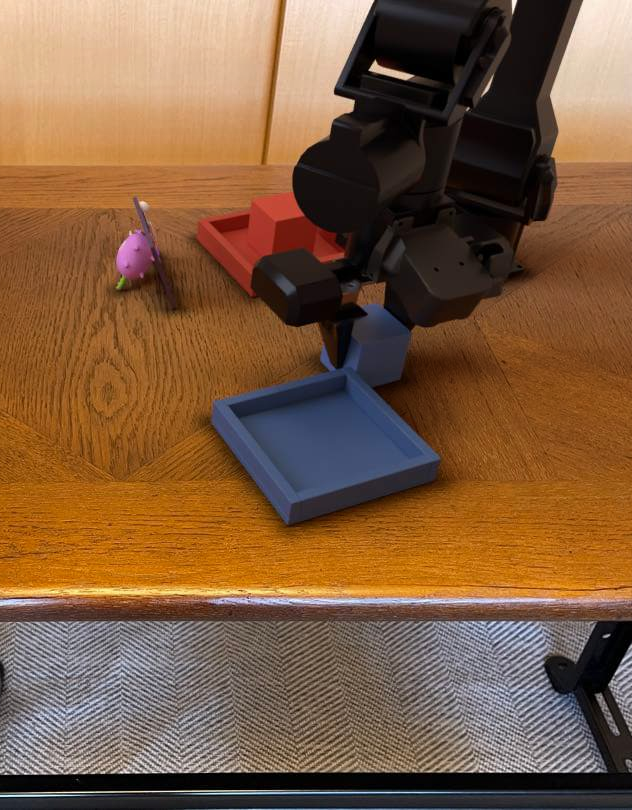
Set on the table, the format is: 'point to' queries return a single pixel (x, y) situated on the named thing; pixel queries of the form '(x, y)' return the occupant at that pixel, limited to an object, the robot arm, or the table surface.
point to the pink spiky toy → (140, 253)
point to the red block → (279, 225)
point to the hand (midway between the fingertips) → (361, 360)
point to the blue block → (376, 347)
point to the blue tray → (323, 444)
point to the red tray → (237, 256)
